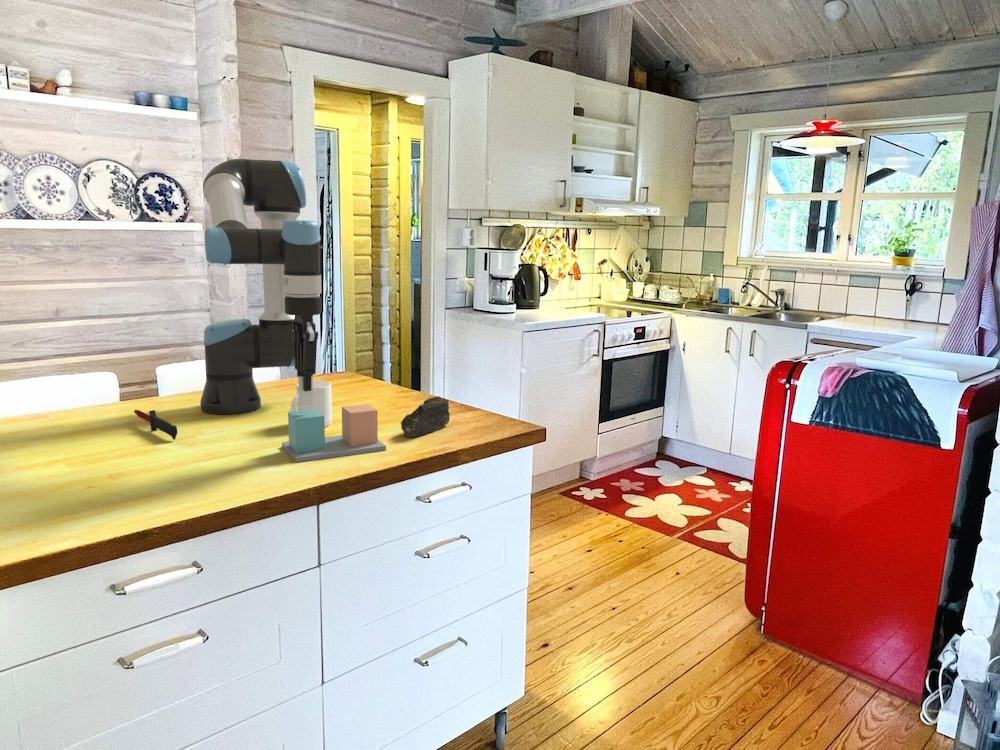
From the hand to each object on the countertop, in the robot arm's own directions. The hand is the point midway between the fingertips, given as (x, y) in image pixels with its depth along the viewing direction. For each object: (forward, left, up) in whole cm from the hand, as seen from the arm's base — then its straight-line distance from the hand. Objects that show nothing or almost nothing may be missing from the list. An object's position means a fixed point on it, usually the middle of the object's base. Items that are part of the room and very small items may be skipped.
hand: (306, 404), depth 154 cm
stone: (-4, +30, -11) cm, 32 cm away
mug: (-20, +6, -11) cm, 24 cm away
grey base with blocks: (0, +6, -11) cm, 12 cm away
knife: (-31, -28, -11) cm, 43 cm away
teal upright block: (0, 0, -10) cm, 10 cm away
